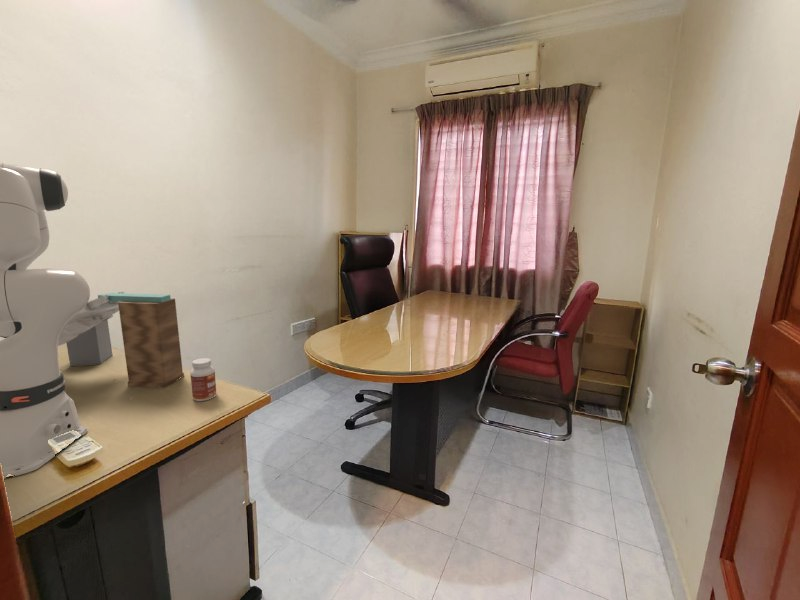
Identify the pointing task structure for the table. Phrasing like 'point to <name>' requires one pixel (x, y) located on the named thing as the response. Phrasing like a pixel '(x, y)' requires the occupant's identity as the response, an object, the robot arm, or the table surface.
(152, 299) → the lid slat
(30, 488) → the table surface
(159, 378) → the walnut shelf
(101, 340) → the riser
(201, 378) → the pill bottle
